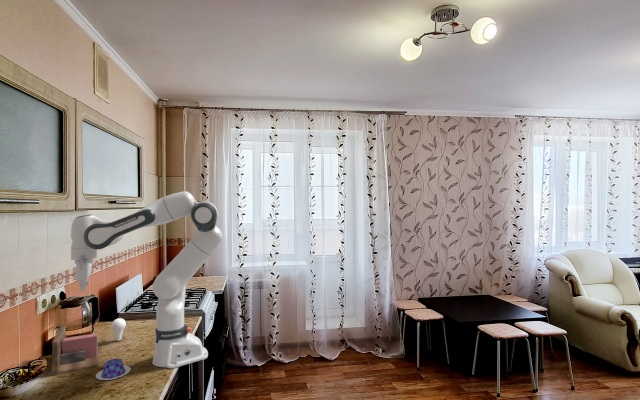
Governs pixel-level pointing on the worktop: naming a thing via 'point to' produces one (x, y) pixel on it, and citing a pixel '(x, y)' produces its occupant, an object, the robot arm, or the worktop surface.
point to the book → (81, 345)
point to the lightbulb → (118, 328)
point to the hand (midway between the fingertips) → (83, 288)
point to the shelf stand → (70, 357)
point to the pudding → (113, 369)
